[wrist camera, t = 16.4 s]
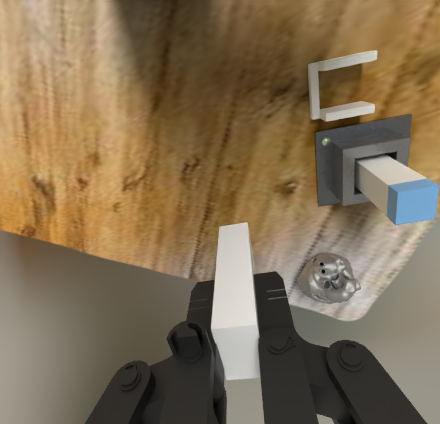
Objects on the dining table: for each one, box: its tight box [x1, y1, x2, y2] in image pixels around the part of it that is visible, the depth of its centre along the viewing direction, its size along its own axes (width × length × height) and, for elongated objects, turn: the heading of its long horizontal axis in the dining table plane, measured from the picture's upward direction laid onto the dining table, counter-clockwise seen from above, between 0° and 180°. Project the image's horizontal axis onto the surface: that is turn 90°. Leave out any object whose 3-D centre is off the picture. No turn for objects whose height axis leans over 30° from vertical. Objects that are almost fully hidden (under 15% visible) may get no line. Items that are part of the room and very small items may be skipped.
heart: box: [297, 253, 361, 304], centre depth 46 cm, size 10×10×12 cm
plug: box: [354, 154, 439, 225], centre depth 36 cm, size 4×4×14 cm
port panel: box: [315, 114, 412, 206], centre depth 40 cm, size 12×13×5 cm
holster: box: [308, 50, 377, 122], centre depth 36 cm, size 7×7×4 cm
